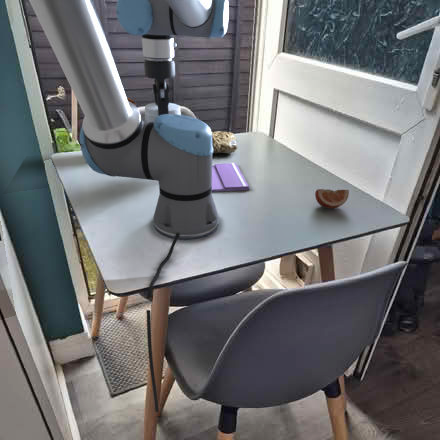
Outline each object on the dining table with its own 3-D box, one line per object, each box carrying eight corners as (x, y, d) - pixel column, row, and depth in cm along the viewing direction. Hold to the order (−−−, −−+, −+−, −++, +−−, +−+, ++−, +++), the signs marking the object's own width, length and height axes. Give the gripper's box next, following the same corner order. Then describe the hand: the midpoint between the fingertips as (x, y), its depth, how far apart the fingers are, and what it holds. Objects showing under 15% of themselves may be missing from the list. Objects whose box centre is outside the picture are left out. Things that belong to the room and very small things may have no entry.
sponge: (228, 149, 138) (173, 139, 132) (235, 128, 133) (178, 117, 127) (235, 169, 130) (177, 160, 124) (242, 148, 124) (181, 136, 118)
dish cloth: (249, 190, 109) (249, 186, 108) (203, 192, 107) (203, 187, 106) (236, 166, 122) (236, 162, 122) (195, 167, 120) (195, 164, 120)
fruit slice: (340, 202, 104) (345, 184, 101) (349, 213, 99) (353, 195, 96) (310, 202, 104) (313, 184, 101) (316, 213, 98) (320, 195, 95)
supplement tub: (156, 170, 106) (152, 112, 96) (142, 159, 112) (137, 103, 103) (188, 164, 110) (186, 108, 101) (173, 154, 116) (170, 100, 107)
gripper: (178, 66, 87) (181, 165, 101) (171, 52, 104) (174, 138, 118) (144, 66, 86) (152, 166, 100) (142, 52, 103) (149, 138, 117)
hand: (164, 150), depth 109 cm, fingers closed on supplement tub, 10 cm apart
